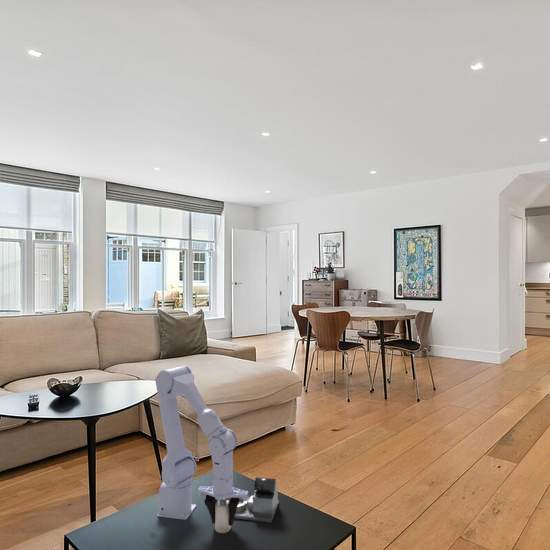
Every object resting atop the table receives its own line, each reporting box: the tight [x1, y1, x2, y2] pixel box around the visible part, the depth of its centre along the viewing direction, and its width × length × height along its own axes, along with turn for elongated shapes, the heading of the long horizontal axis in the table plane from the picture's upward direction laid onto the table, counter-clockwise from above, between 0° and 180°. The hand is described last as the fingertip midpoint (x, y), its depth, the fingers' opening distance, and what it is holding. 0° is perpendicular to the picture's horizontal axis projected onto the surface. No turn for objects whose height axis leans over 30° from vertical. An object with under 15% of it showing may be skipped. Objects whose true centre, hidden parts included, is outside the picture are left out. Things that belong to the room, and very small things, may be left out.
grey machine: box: [223, 476, 280, 523], centre depth 132 cm, size 18×11×10 cm, turn 79°
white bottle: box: [214, 499, 232, 534], centre depth 122 cm, size 4×4×8 cm
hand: (223, 522), depth 122 cm, fingers closed on white bottle, 4 cm apart
